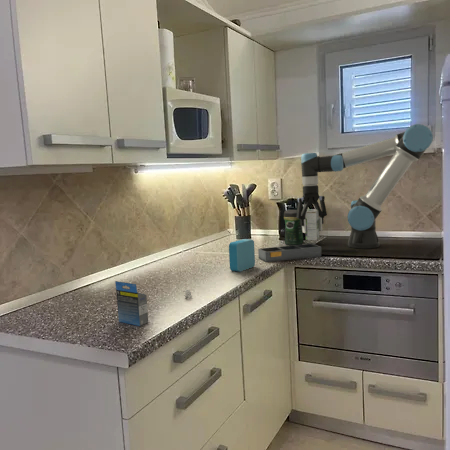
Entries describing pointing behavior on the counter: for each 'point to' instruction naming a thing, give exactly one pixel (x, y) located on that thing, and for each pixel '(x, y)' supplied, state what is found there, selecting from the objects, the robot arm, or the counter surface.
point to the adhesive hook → (187, 294)
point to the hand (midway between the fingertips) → (312, 231)
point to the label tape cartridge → (131, 304)
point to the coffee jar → (292, 228)
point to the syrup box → (312, 224)
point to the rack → (289, 252)
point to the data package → (241, 255)
